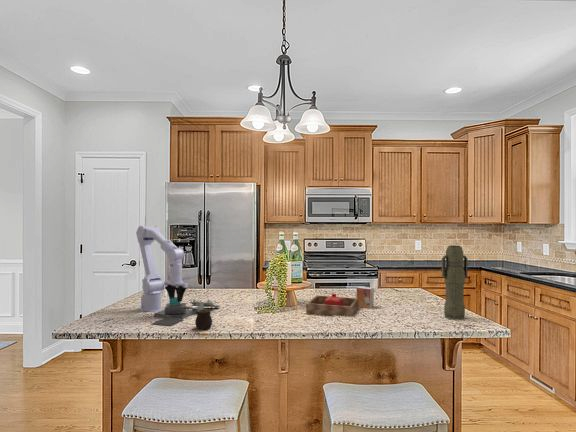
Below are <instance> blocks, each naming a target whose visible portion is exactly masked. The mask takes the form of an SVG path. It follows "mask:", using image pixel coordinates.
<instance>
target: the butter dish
mask: <svg viewBox="0 0 576 432" xmlns="http://www.w3.org/2000/svg"><path fill="white" fill-rule="evenodd" d="M339 297H340V296H337V293H331V297H328V298H326V299H325V301H324V305H337V306H344V303H343V299H342V298H339Z"/></svg>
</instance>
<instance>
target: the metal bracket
mask: <svg viewBox="0 0 576 432" xmlns="http://www.w3.org/2000/svg"><path fill="white" fill-rule="evenodd" d="M189 303H190V304H191V306H190V307H192V306H200V309H204V308H205V307H207V308H208V307H209V308H211V307H212V306H213V307H212V308H221V305H217V304H214V302H213V301H212V300H210V299H207V301H206V302H205V301H202V300H201V299H200V300H196V298H193V301H189ZM200 309H195V310H196V311H198V310H200Z"/></svg>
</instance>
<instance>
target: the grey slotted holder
mask: <svg viewBox="0 0 576 432" xmlns="http://www.w3.org/2000/svg"><path fill="white" fill-rule="evenodd" d="M180 303H181V306H169V305H168V304H170V302H169V303H167V304H166V305H165V306H164V310H165V314H178V313H184V312H185V310H196V309H197V310H198V309H200V306H187V302H180Z"/></svg>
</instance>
